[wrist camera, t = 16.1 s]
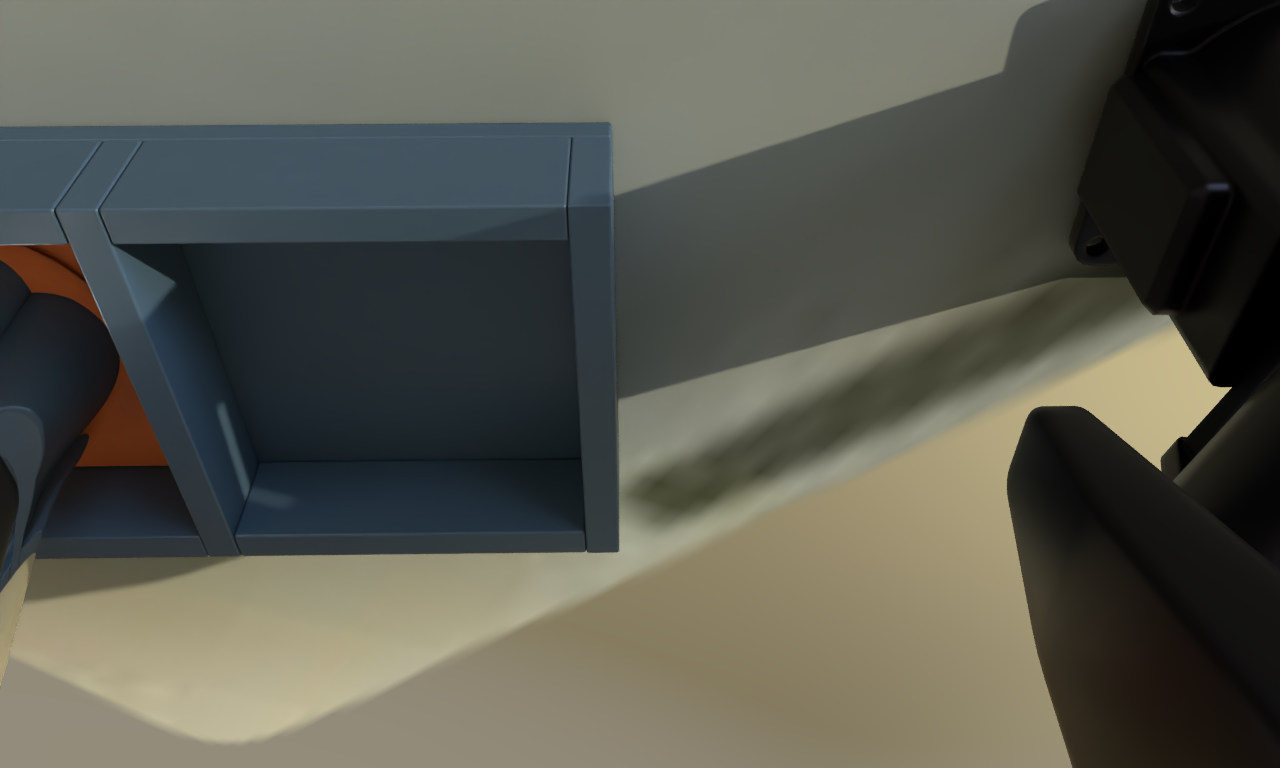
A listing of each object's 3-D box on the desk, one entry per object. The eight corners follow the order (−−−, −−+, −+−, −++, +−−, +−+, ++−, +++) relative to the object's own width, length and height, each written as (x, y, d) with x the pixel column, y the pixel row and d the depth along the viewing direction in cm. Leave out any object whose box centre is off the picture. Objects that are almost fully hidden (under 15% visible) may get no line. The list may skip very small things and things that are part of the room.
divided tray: (612, 120, 21) (610, 205, 19) (619, 461, 28) (618, 553, 26) (-350, 128, 21) (-467, 214, 19) (-108, 468, 28) (-172, 561, 26)
